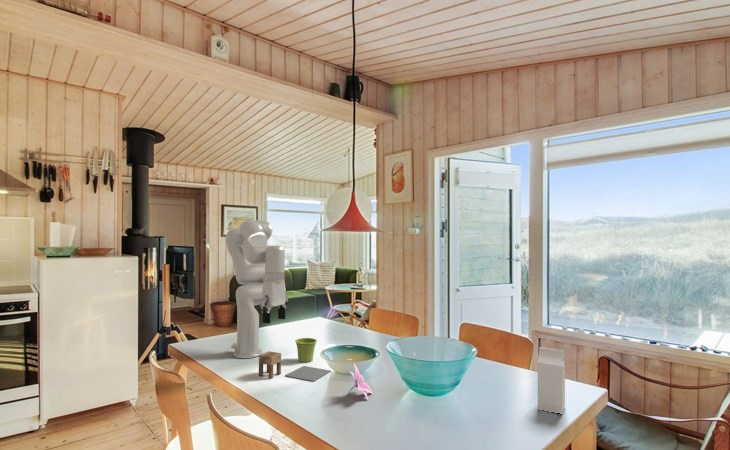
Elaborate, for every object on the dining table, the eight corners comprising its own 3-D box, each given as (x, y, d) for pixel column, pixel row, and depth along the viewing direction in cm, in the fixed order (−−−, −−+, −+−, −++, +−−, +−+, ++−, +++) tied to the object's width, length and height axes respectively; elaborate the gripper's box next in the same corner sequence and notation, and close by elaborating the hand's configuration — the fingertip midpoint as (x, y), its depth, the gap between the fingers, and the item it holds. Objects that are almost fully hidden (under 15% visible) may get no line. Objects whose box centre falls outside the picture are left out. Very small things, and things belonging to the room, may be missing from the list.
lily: (353, 409, 128) (368, 383, 129) (329, 386, 135) (344, 361, 136) (371, 409, 138) (386, 384, 138) (348, 387, 145) (362, 364, 145)
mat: (284, 376, 155) (284, 375, 155) (303, 366, 167) (303, 365, 167) (313, 381, 149) (313, 380, 149) (331, 371, 161) (331, 370, 161)
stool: (258, 376, 155) (259, 355, 155) (268, 371, 160) (269, 351, 160) (271, 378, 152) (271, 357, 152) (280, 373, 157) (281, 353, 158)
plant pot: (318, 357, 179) (318, 338, 180) (313, 364, 170) (314, 343, 170) (298, 356, 180) (298, 337, 181) (292, 363, 171) (292, 342, 171)
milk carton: (562, 415, 124) (562, 353, 124) (537, 410, 127) (537, 349, 128) (565, 407, 130) (564, 348, 130) (541, 402, 134) (541, 344, 134)
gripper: (279, 275, 168) (279, 317, 167) (252, 278, 152) (252, 324, 151) (295, 275, 165) (294, 318, 164) (268, 278, 149) (268, 325, 148)
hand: (274, 321), depth 158 cm, fingers open, 9 cm apart
